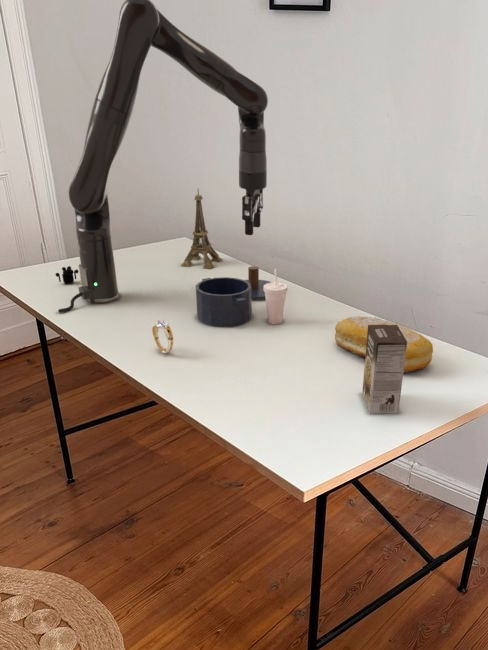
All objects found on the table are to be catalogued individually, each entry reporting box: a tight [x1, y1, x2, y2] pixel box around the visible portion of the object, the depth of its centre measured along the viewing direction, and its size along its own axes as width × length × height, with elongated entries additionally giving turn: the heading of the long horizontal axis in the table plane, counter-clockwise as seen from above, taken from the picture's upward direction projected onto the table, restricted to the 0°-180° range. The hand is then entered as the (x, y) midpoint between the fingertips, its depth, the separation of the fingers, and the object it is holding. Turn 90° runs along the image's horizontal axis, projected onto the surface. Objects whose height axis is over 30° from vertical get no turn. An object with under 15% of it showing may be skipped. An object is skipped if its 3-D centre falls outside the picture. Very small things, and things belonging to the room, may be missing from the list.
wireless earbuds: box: [55, 265, 80, 285], centre depth 206 cm, size 7×2×5 cm, turn 124°
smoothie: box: [263, 268, 289, 325], centre depth 180 cm, size 6×6×14 cm
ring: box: [151, 319, 174, 354], centre depth 164 cm, size 7×3×8 cm, turn 37°
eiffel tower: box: [180, 189, 223, 270], centre depth 219 cm, size 11×11×25 cm
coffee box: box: [361, 325, 407, 415], centre depth 142 cm, size 9×6×16 cm
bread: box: [334, 315, 434, 373], centre depth 164 cm, size 13×26×8 cm, turn 44°
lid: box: [244, 265, 273, 300], centre depth 201 cm, size 16×16×7 cm
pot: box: [195, 276, 253, 328], centre depth 184 cm, size 15×20×8 cm
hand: (252, 230), depth 193 cm, fingers open, 8 cm apart
